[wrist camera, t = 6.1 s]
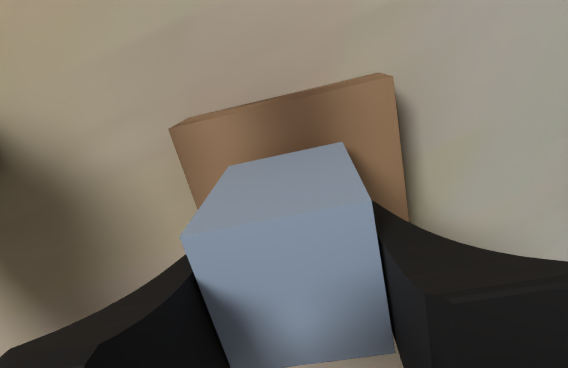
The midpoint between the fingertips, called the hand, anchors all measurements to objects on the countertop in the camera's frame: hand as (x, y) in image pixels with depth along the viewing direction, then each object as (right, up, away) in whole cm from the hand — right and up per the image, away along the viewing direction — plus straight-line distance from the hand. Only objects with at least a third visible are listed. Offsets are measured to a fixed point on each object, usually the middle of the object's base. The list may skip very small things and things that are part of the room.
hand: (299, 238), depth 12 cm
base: (0, +2, +5) cm, 5 cm away
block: (0, +1, +2) cm, 2 cm away
